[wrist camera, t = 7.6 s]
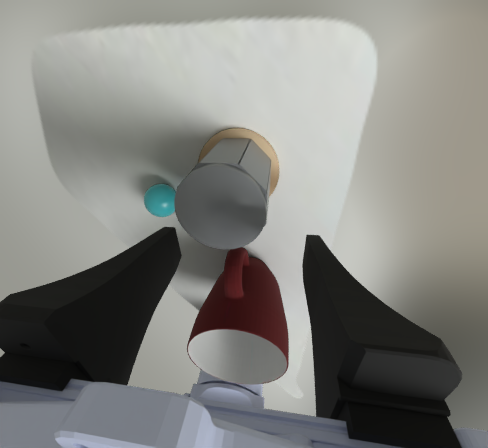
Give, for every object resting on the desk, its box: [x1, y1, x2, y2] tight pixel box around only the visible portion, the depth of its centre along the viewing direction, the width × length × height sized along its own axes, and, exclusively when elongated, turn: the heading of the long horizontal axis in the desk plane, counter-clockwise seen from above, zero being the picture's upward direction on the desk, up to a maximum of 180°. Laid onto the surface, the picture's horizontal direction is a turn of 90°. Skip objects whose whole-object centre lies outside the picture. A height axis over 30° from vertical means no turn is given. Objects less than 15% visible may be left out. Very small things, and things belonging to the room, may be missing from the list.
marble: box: [144, 184, 176, 217], centre depth 21 cm, size 3×3×3 cm
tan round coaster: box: [198, 128, 279, 197], centre depth 20 cm, size 7×7×1 cm
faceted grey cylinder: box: [174, 138, 271, 249], centre depth 17 cm, size 6×6×7 cm
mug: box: [187, 247, 289, 384], centre depth 22 cm, size 11×8×10 cm
